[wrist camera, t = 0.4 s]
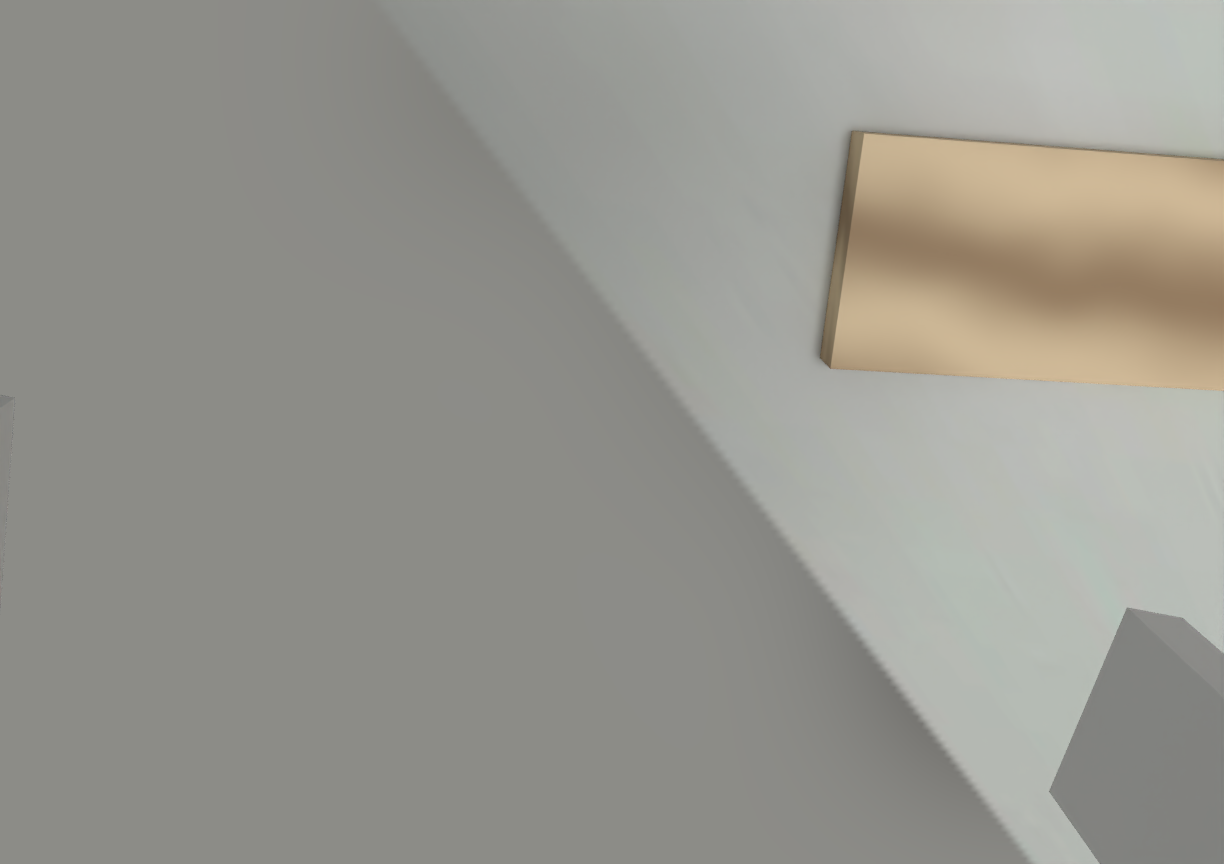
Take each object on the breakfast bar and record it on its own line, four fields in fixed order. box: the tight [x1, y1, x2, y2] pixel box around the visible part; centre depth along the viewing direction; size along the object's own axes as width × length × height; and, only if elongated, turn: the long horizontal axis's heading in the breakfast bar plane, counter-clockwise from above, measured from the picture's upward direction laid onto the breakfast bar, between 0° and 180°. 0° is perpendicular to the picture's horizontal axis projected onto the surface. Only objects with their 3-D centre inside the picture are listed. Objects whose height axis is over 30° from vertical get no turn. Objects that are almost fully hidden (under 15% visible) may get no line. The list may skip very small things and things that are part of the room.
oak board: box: [820, 131, 1224, 391], centre depth 40 cm, size 8×20×2 cm, turn 86°
